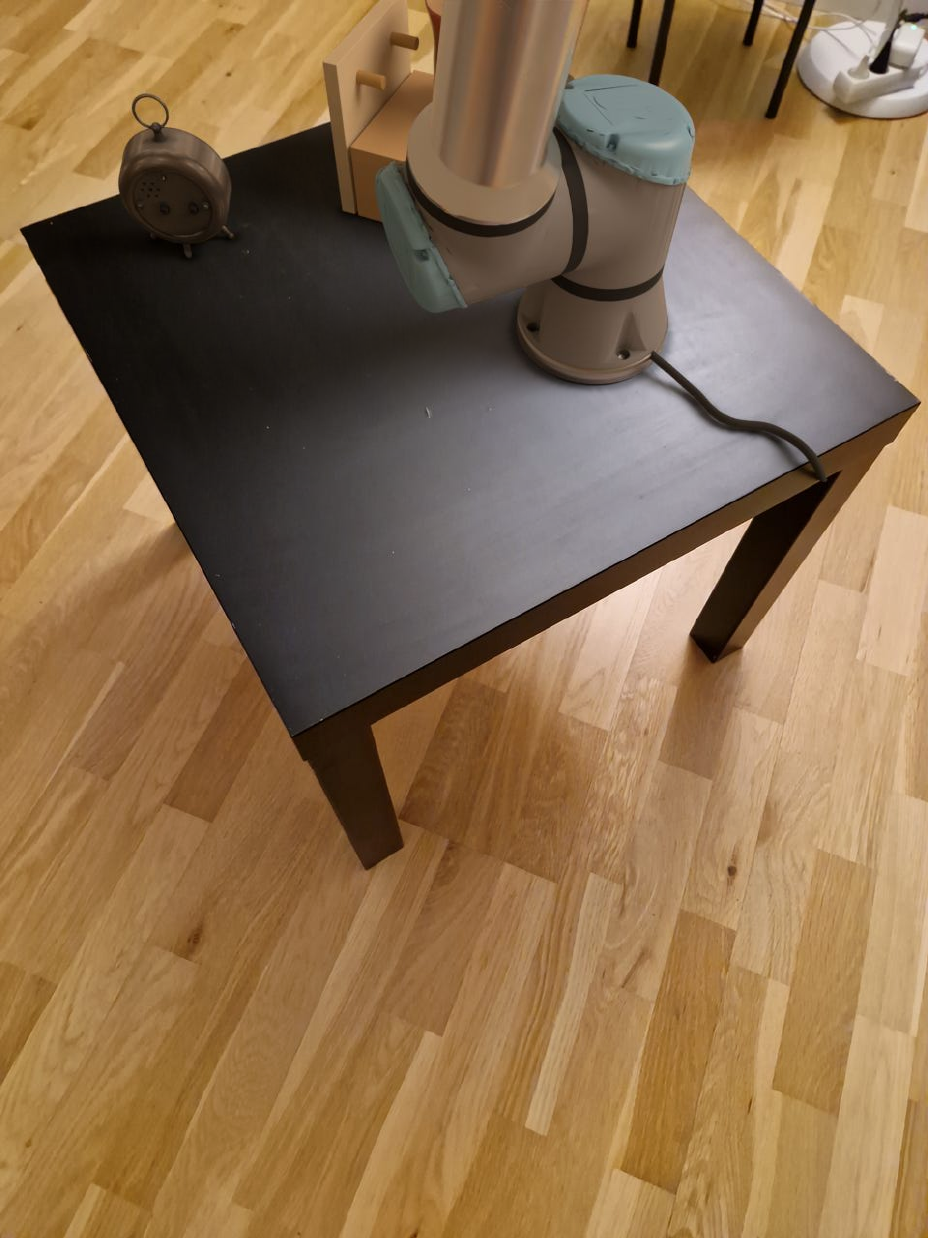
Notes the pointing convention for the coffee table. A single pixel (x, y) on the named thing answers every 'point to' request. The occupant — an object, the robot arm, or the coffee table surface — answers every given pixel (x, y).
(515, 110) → the robot arm
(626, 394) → the coffee table surface
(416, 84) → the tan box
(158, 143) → the alarm clock
